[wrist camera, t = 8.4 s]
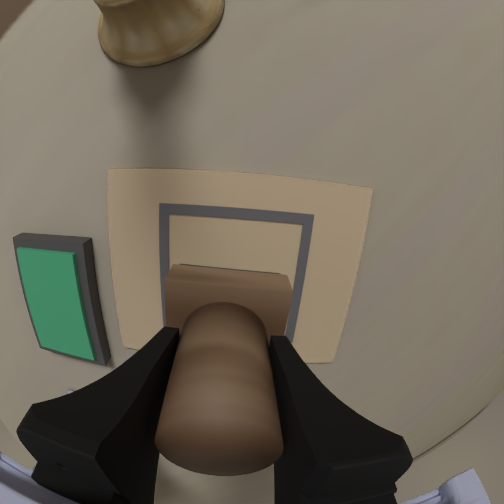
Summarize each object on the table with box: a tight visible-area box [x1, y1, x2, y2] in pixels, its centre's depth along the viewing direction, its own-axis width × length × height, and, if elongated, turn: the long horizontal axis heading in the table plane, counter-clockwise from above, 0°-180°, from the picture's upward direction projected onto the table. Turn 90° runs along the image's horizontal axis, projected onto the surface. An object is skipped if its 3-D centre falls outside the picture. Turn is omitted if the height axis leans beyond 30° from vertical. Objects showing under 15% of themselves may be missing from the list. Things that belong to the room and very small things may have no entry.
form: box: [107, 168, 373, 363], centre depth 18 cm, size 13×16×1 cm
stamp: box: [155, 264, 293, 476], centre depth 10 cm, size 5×5×8 cm
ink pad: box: [13, 233, 111, 366], centre depth 18 cm, size 10×7×2 cm
